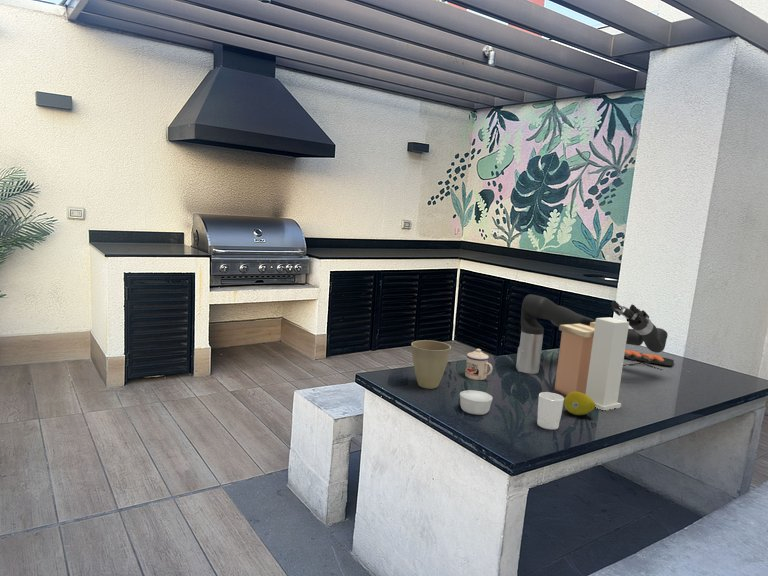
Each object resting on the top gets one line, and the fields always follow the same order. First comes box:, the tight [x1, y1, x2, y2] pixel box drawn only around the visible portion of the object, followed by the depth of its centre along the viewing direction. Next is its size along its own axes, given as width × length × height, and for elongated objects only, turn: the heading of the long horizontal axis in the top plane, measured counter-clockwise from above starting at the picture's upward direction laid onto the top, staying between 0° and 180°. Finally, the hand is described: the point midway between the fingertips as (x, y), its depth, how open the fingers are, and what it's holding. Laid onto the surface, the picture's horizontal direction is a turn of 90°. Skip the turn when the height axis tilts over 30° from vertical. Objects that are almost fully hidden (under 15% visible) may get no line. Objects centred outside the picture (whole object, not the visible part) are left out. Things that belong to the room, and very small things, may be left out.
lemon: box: [563, 391, 596, 416], centre depth 193 cm, size 11×8×8 cm
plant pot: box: [411, 339, 452, 390], centre depth 211 cm, size 15×15×16 cm
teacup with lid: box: [464, 348, 493, 381], centre depth 226 cm, size 12×9×12 cm
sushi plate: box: [623, 349, 675, 371], centre depth 272 cm, size 29×30×4 cm
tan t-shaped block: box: [558, 322, 595, 338], centre depth 216 cm, size 22×12×4 cm, turn 121°
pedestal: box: [586, 316, 630, 411], centre depth 204 cm, size 10×10×32 cm
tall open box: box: [554, 331, 593, 396], centre depth 216 cm, size 10×10×24 cm
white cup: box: [536, 391, 565, 431], centre depth 181 cm, size 8×8×10 cm
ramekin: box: [459, 389, 494, 415], centre depth 191 cm, size 11×11×5 cm
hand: (621, 304), depth 226 cm, fingers open, 8 cm apart
